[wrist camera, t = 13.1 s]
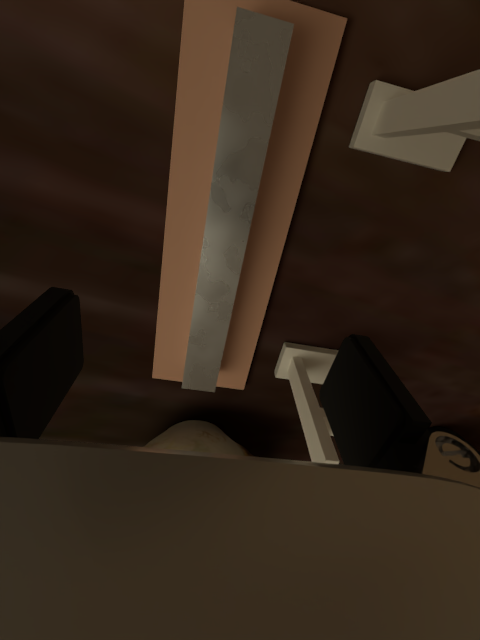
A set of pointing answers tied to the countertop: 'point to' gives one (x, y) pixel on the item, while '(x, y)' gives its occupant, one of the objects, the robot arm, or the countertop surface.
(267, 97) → the steel rail
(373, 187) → the countertop surface
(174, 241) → the terracotta mat
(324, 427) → the shelf brackets
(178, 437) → the sugar bowl
